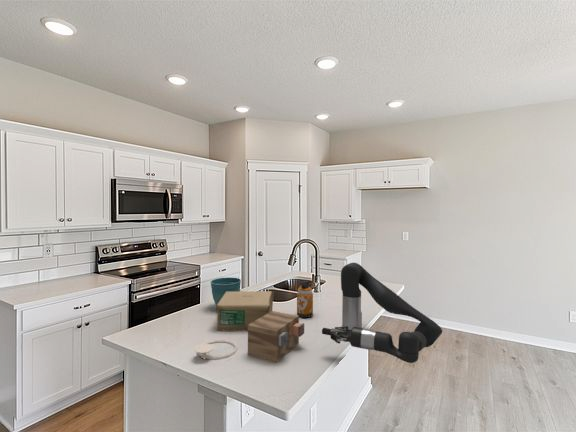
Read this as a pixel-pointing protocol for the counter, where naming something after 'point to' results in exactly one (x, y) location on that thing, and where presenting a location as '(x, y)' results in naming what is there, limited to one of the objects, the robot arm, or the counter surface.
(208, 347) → the hand towel holder
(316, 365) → the counter surface
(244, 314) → the paper package
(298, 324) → the brick plug
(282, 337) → the grey plug
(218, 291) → the flower pot
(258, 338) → the socket block
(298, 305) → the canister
